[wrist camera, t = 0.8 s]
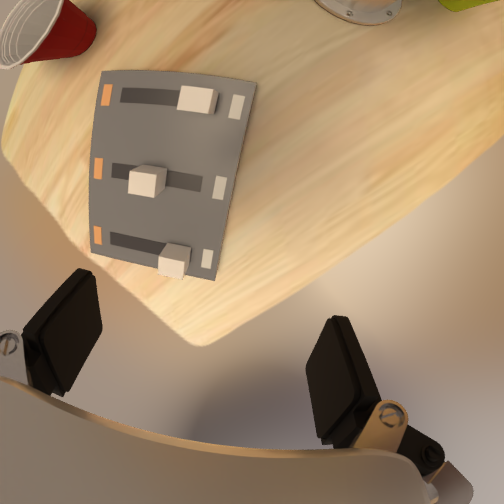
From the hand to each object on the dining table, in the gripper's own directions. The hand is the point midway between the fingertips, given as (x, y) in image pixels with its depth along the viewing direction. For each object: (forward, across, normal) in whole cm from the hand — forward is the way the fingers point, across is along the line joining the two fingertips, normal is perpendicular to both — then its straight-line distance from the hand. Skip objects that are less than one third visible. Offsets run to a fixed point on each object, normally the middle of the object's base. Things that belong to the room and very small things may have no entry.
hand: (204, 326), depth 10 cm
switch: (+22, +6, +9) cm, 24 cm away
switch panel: (+24, +9, 0) cm, 26 cm away
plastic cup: (+24, +25, -19) cm, 39 cm away
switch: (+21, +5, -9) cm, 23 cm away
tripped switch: (+21, +9, 0) cm, 23 cm away
